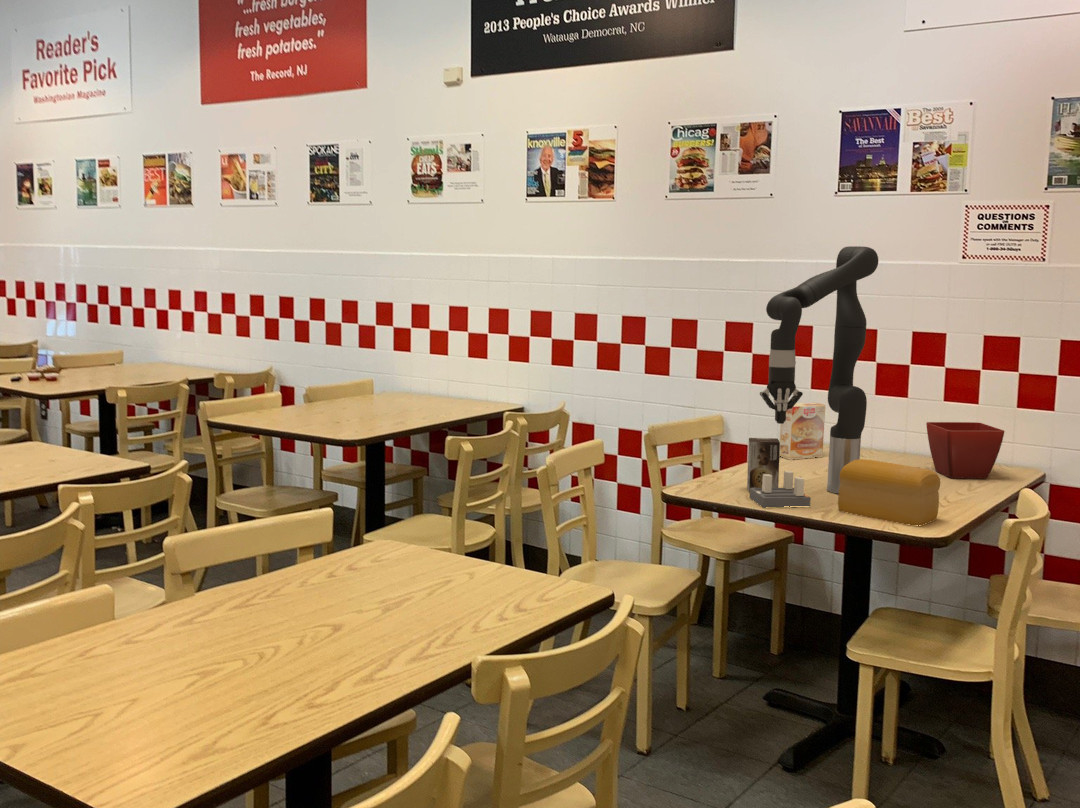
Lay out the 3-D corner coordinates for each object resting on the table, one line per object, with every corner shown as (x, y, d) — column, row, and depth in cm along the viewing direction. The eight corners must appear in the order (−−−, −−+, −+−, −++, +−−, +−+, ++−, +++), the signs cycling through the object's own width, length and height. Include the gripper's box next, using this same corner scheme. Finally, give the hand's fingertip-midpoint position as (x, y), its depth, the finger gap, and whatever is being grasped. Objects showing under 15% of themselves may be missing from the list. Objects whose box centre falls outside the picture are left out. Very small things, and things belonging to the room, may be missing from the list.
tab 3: (800, 493, 309) (801, 477, 308) (803, 495, 306) (804, 479, 306) (793, 494, 309) (794, 477, 308) (796, 496, 306) (797, 479, 306)
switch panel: (794, 497, 319) (795, 487, 319) (810, 507, 306) (810, 497, 306) (749, 497, 318) (749, 487, 317) (763, 508, 305) (763, 497, 304)
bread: (938, 519, 296) (942, 467, 293) (918, 527, 286) (922, 473, 284) (857, 504, 312) (860, 454, 310) (836, 511, 303) (839, 460, 301)
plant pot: (921, 469, 366) (925, 421, 364) (976, 469, 367) (979, 421, 364) (944, 481, 347) (948, 430, 345) (1002, 481, 348) (1006, 431, 346)
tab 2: (789, 487, 318) (790, 470, 317) (792, 489, 315) (793, 472, 315) (783, 487, 318) (784, 470, 317) (786, 489, 315) (787, 472, 314)
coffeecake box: (790, 460, 378) (792, 406, 375) (777, 456, 384) (780, 403, 382) (823, 457, 384) (826, 404, 381) (810, 454, 390) (813, 401, 388)
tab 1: (768, 490, 313) (769, 474, 312) (771, 492, 310) (772, 476, 309) (761, 490, 312) (762, 474, 312) (764, 492, 310) (765, 476, 309)
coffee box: (775, 488, 331) (778, 438, 328) (778, 493, 324) (780, 441, 322) (746, 487, 331) (748, 437, 329) (748, 492, 325) (750, 440, 323)
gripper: (798, 363, 314) (796, 420, 317) (756, 363, 312) (754, 421, 315) (808, 365, 307) (806, 424, 309) (764, 366, 305) (763, 425, 308)
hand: (780, 423), depth 312 cm, fingers closed
